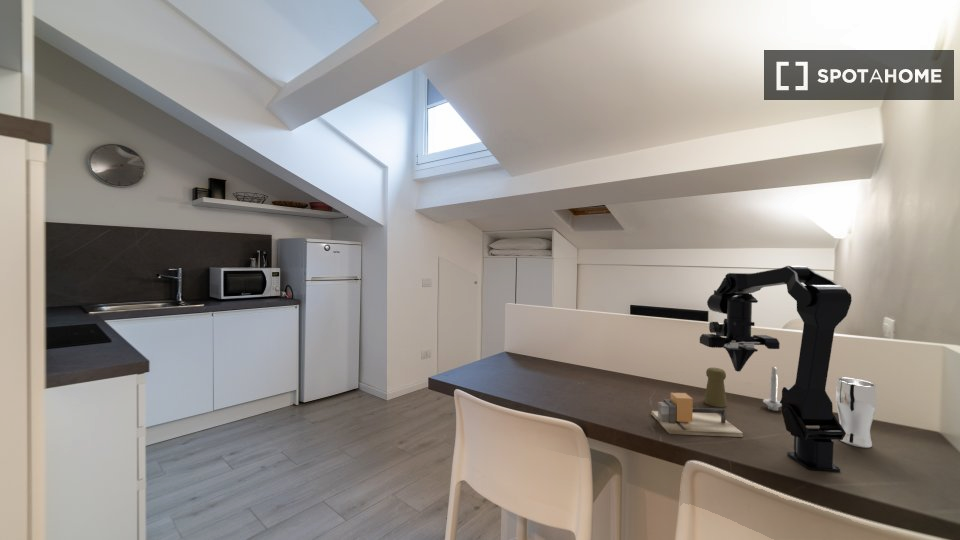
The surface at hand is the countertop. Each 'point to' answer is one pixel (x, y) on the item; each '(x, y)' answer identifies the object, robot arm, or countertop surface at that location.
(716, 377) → the olive green shaker
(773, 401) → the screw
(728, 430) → the board
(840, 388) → the silver metal tumbler
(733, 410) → the countertop surface
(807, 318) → the robot arm
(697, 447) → the countertop surface
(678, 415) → the orange block
